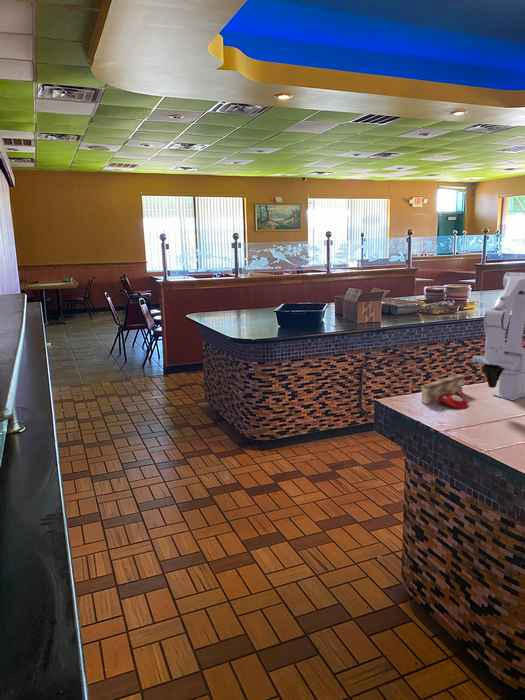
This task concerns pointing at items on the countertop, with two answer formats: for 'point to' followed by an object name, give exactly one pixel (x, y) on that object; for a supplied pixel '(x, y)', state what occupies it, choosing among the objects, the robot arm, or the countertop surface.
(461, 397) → the tracker holder
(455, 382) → the wall board
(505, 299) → the robot arm
